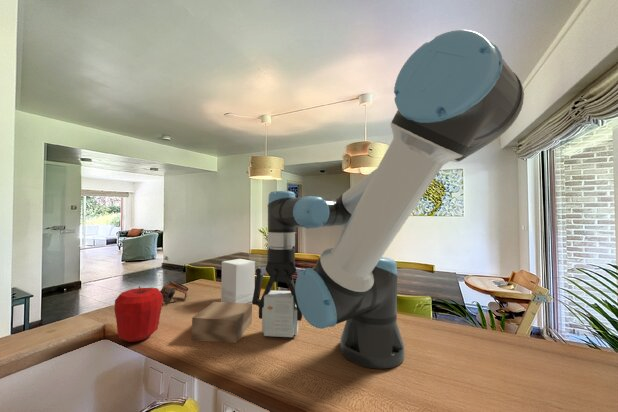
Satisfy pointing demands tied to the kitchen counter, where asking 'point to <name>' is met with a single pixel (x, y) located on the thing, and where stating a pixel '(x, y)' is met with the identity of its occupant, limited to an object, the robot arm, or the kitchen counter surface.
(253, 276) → the supplement box
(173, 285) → the brown grey ring
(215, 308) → the walnut block
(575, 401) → the kitchen counter surface
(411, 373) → the kitchen counter surface
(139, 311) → the apple
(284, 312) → the small box
